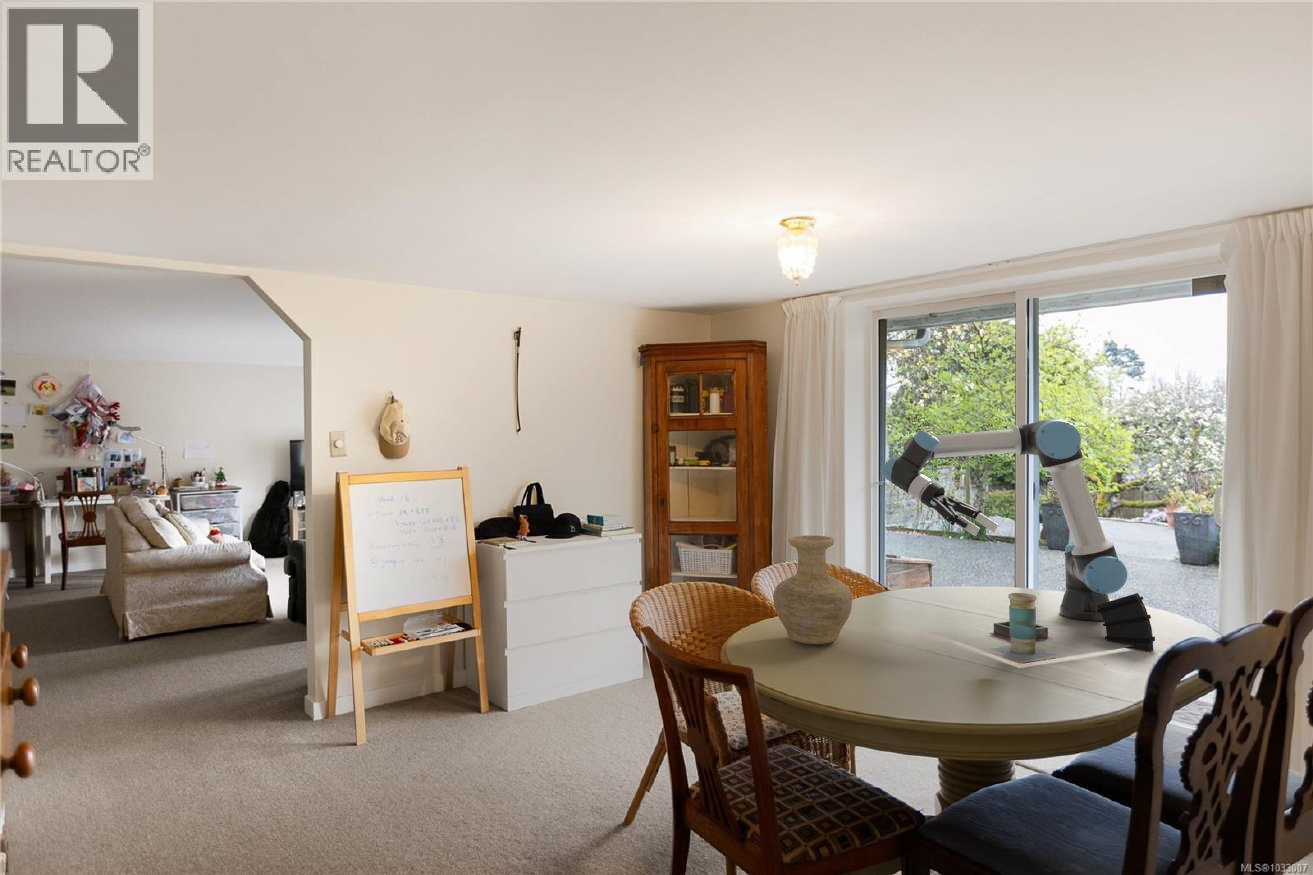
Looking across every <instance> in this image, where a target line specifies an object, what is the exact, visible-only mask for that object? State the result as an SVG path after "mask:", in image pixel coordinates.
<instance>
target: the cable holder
mask: <svg viewBox="0 0 1313 875" xmlns="http://www.w3.org/2000/svg"><path fill="white" fill-rule="evenodd" d="M988 634H990V635H993V636H996V637H998V638H1002V639H1004V640H1005V639H1006V640H1009V641H1011V636H1010V620H1007V621H1001V622H999V621H998V622H993V632H988ZM1053 639H1054V638H1053V637H1051V636H1049V627H1047V626H1045V625H1040V624H1038V623H1036V639H1035V642H1040V641H1041V642H1042V641H1048V640H1053Z"/></svg>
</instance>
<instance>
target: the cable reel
mask: <svg viewBox="0 0 1313 875" xmlns="http://www.w3.org/2000/svg"><path fill="white" fill-rule="evenodd" d="M1007 594H1008V596H1007V597H1008V599H1009V606H1008V608H1009V610H1008V611H1009V613H1008V614H1009V620H1008V621H1010V636H1011V640H1010V646H1011V651H1012V652H1014V653H1017V654H1024V655H1031V654H1035V648H1036V641H1035V639H1036V624H1037V616H1036V615H1037V613H1036V612H1037V610H1036V609H1037V607H1036V601H1037V595H1036V594H1034V593H1033V594H1032V593H1026V592H1011V593H1007Z"/></svg>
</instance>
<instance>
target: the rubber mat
mask: <svg viewBox="0 0 1313 875" xmlns="http://www.w3.org/2000/svg"><path fill="white" fill-rule="evenodd" d="M992 650H994V651H997V652H999V653H1003V654H1006V655H1009V656H1012V657H1014V658H1018V659H1020V660H1023V661H1025V660H1031V659H1036V658H1037V659H1038V658H1043V657H1049V656H1056V655H1057V654H1055V653H1052V652H1049V651H1046V650H1042V649H1039V648H1036V647H1035V654H1031V655H1024V654H1017V653H1014V652H1012V651H1011V645H1008V646H1002V647H1000V646H999V647H994V648H992ZM1046 659H1047V658H1046ZM1046 659H1045V658H1044V659H1043V661H1047V660H1046ZM1054 659H1056V657H1051V658H1050V660H1054ZM1040 660H1041V659H1039V660H1033V661H1026V662H1024V664H1028V663H1035V662H1041V661H1040Z"/></svg>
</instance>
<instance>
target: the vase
mask: <svg viewBox="0 0 1313 875" xmlns="http://www.w3.org/2000/svg"><path fill="white" fill-rule="evenodd" d="M788 542H789V544H790V546H792V547H793V548H795V549H796V551H797V570H796V573H795V574H794V575H791V576H790V577H788V578H785V579H784V580H782V581H781V582H779V583H778V584H777V585H776V587H775V589H774V591H773V594H772V595H773V597H772V598H773V599H772V600H773V605H774V610H775V612H776V615H777V617H778V618H779V621H780V622H781V624H782V625H783V627H784V628H785V630H786V635H787V637H788V638H789V639H790V640H791V641H794V642H797V643H801V644H805V645H806V644H807V645H825V644H830V643H834V642H835V641H838V639H839V638H840V634H841V630H842V629H843V628H844V626H845V625H846V622H847V621H848V620H849V617H850V615H851V611H852V607H853V606H852V605H853V595H852V591H851V589H850V588H849V587H848V586H847V585H846V583H844V582H843V581H841V580H840V579H837V578H835V577H833V576H831V575H829V574H828V572H827V567H826V566H827V565H826V558H827V557H826V551H827V550H828V548H831V546H833V545H834V543H835V539H834V537H831V536H825V535H811V534H810V535H809V534H808V535H795V536H791V537H789V538H788Z"/></svg>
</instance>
